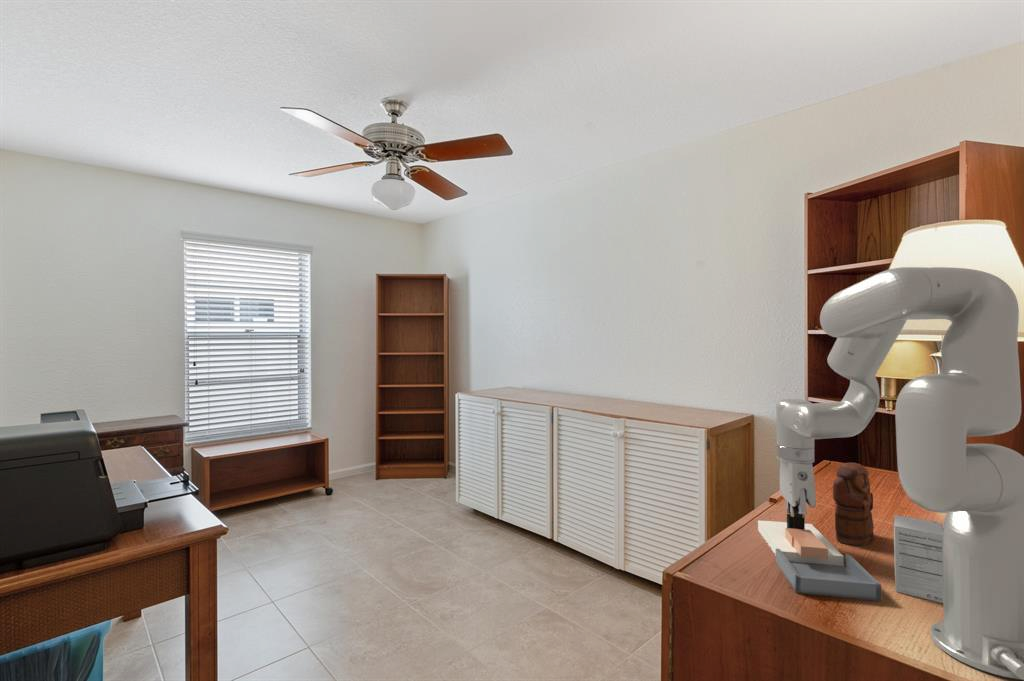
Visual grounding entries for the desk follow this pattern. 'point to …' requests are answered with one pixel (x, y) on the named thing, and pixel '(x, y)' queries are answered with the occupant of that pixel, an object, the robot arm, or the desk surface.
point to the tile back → (797, 534)
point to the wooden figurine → (853, 505)
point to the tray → (830, 579)
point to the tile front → (810, 547)
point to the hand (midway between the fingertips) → (795, 532)
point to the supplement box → (918, 557)
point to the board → (777, 540)
